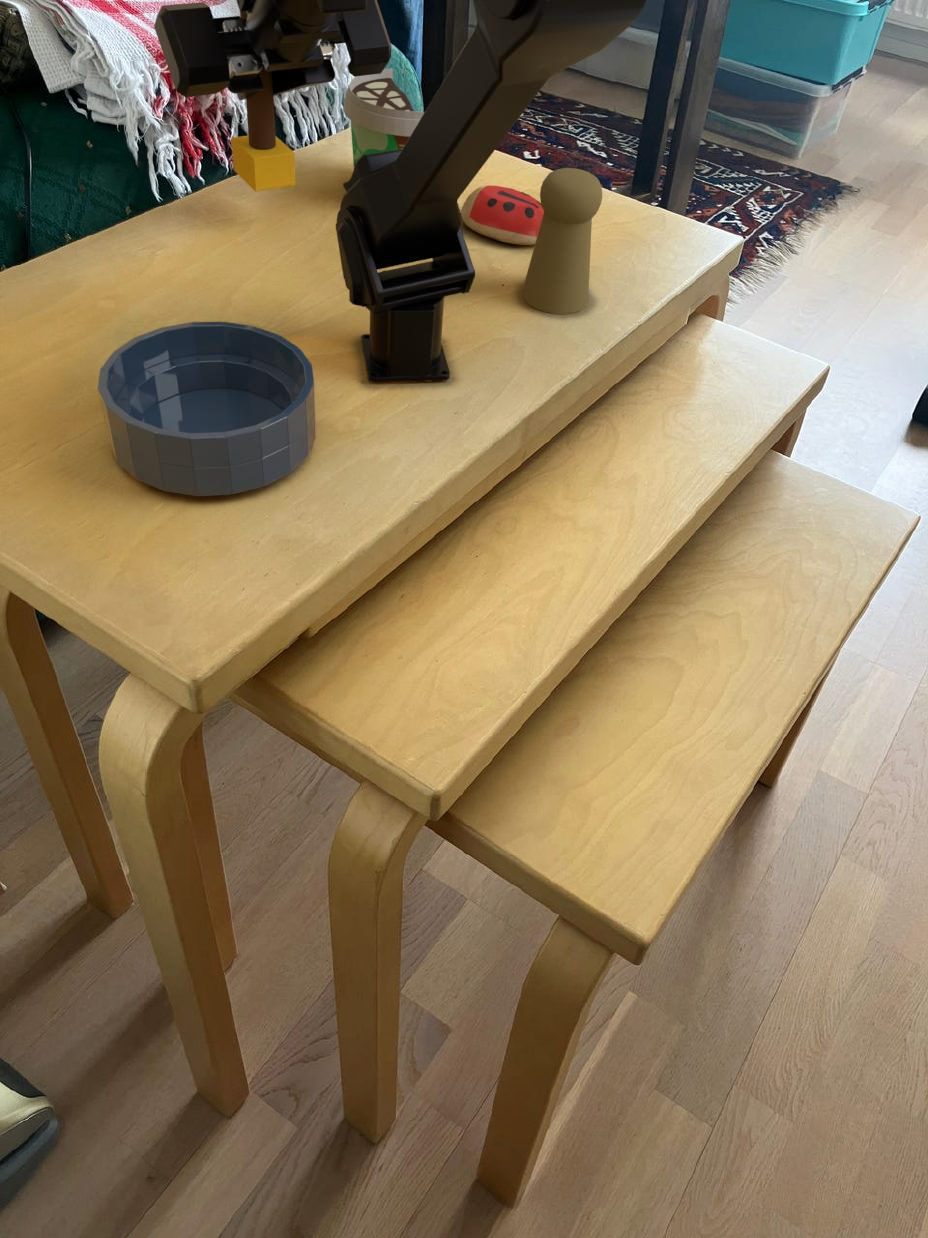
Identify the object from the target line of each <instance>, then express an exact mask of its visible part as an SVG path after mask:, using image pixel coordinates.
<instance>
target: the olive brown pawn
mask: <svg viewBox="0 0 928 1238" xmlns="http://www.w3.org/2000/svg"><path fill="white" fill-rule="evenodd" d="M539 199H540V203H541V206H542V208H543V210H544V214H543V217H542V221H541V225H540V228H539V232H538V236H537V239H536V243H535V244H534V246H533V249H532V254H531V257H530V261H529V265H528V268H527V272H526V276H525V280H524V282H523V283H524V284H523V287H522V289H521V296H522V298H523V300H524V302H525V303H526V304H527V305H529V306H530V307H532V308H535V309H536V310H538V311H541V312H544V313H549V314H555V315H567V314H568V315H569V314H574V313H577V312H580V311H582V310H583V309H585V308H586V307H587V305H588V303H589V295H590V294H589V292H590V270H591V269H590V268H591V246H592V223H593V218H594V217H595V216H596V214H597V213H598V211H599V209H600V207H601V205H602V201H603V188H602V184H601V182H600V180H599V179H598V177H596V176H595V175H593V173H591V172H589V171H587V170H585V169H580V168H573V167H562V168H558V169H554V170H553V171H550V172H549V173H548V174H547V176H546V177H545V178H544V179H543V181H542V183H541V186H540V192H539Z"/></svg>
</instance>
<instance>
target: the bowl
mask: <svg viewBox="0 0 928 1238" xmlns="http://www.w3.org/2000/svg"><path fill="white" fill-rule="evenodd" d="M98 375H99V376H98V382H97V392H98V397H99V401H100V407H101V411H102V416H103V419H104V420H103V421H104V425H105V429H106V436H107V440H108V444H109V445H108V446H109V448H110V449H111V452H112V454H113V456H114V458H115V460H116V463H117V464H118V465H119V466H120V467H121V468H122V469H124V471H126V472H127V473H128V474H130V475H131V476H132V477H133V478H134V479H135V480H137V481H139V482H140V483H144V484H146V485H149V486H151V487H153V488H156V489H158V490H161V491H163V492H169V493H175V494H180V495H187V496H193V497H208V496H209V497H211V496H213V497H214V496H228V495H229V496H231V495H235V494H239V493H243V492H248V491H251V490H255V489H259V488H263V487H267V486H268V485H270V484H273V483H274V482H276V481H278V480H280V479H282V478H284V477H287V476H289V475H290V474H291V473H293V472H294V471H295V470H296V469H297V468H298V467H299V466H300V465H301V464H302V463H303V462H304V461H305V460H306V459H307V458H308V457H309V455H310V452H311V450H312V448H313V445H314V443H315V441H316V437H317V436H316V435H317V434H316V432H317V431H316V401H315V400H316V399H315V397H316V396H315V379H314V371H313V365H312V363H311V361H310V360H309V359H308V357H307V356H306V354H305V353H304V352H303V350H302V349H301V348H300V347H298V346H297V345H296V344H294V343H292V342H291V341H290V340H288V339H286V338H285V337H284V336H282V335H280V334H278V333H275V332H272V331H269V330H266V329H264V328H261V327H258V326H255V325H250V324H243V323H236V322H230V321H190V322H185V323H184V322H183V323H179V324H174V325H168V326H161V327H158V328H156V329H153V330H151V331H148V332H145V333H142V334H139V335H137V336H134V337H133V338H131V339H129V340H128V341H127V342H126V343H124V344H123V345H121V346H119V347H118V348H117V349H115V350H114V351H112V353H111V354H110V356H108V357H107V359H106V361H105V362H104V364H103V365H102V366H101V367H100V369H99V374H98Z"/></svg>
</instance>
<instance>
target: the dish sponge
mask: <svg viewBox="0 0 928 1238" xmlns="http://www.w3.org/2000/svg"><path fill="white" fill-rule="evenodd" d="M239 16H240V18H241V19H246V18H247V17H248V16H247V13H246V11H242V12H241V11H240V10H239ZM259 74H260V77H261V80H262V83H263V86H264V90H263V91H261V92H259V93H257V94H255V95H253V96H251V97H249V98H247V99H245V103H246V104H245V105H246V118H247V119H246V120H247V133H248V135H241V136H235V137H231V138H230V139H231V151H232V152H231V153H232V161H233V162H232V163H233V172H235V173H236V174H237V176H239V177H240V178H241V179H242V180H243V181H244V182H245V183H246V184H247V185H248V186H249V187H250V188H251V189H252V190H253V191H254V192H262V191H268V190H275V189H279V188H286V187H292V186H296V164H295V160H296V159H295V152H294V151H293V150H292V149H291V148H290V147H289V146H288V145H286V143H284V142H283V141H282V140H281V139H280V138H278V136H276V117H275V116H276V115H275V100H274V99H275V96H273V76H272V71H267V72H266V70H265V67H264V64H263V65H262V69H261V71H260V72H259Z"/></svg>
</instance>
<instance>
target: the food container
mask: <svg viewBox="0 0 928 1238" xmlns="http://www.w3.org/2000/svg"><path fill="white" fill-rule="evenodd" d="M342 111H343V113H344V115H345V116H346V117H347V119H349V120H350V129H351V130H350V131H351V132H350V133H351V147H352V159H353V160H352V161H353V169H354V168H355V165H356V163H357V162H358V160H359V159H360V158H361V157H362V156H363V155H366V154H373V153H379V152H386V151H392V150H398V149H403V147H404V146H405V144H406V142H407V141H408V139H409V137H410V136H411V134H412V132H413V131H414V129H415V127H416V126H417V124H418V122H419V121H420V119H421V117H422V116H423V114H424V112H425V111H419V110H417V111H416V110H414V108H413V106H412V105H411V102H410V100H409V98H408V96H407V95H406V93H405V92H403V91H402V90H401V89H400V88H399V87H398V86H397V84H396V82H394V68H384V70H383V71H382V73H381V74H373V75H365V76H356V77H353V78H352V79H351V80H350V82H349V85H348V87H347V89H346V92H345V97H344V101H343V110H342Z"/></svg>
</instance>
